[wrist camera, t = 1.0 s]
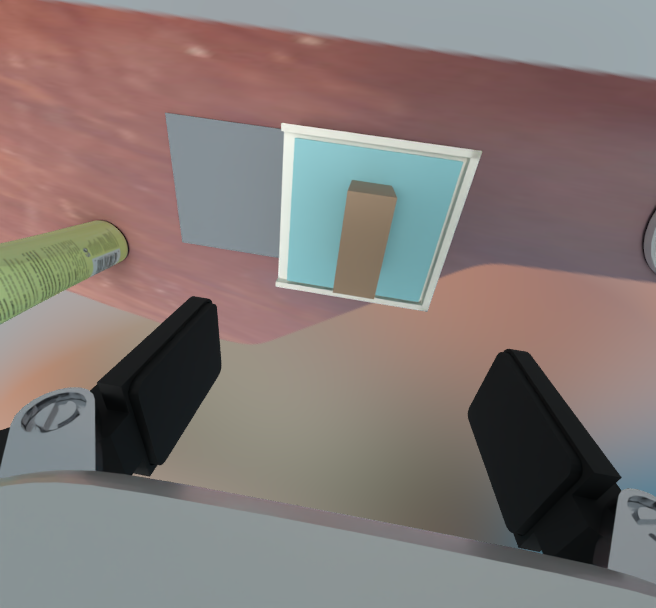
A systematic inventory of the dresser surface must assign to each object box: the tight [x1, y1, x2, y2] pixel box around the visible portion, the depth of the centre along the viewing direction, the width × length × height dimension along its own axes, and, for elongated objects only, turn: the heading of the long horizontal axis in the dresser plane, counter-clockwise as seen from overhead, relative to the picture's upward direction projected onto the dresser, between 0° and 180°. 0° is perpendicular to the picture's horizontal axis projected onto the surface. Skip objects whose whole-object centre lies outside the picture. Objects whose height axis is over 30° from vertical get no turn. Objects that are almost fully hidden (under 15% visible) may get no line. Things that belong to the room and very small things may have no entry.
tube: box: [0, 221, 128, 324], centre depth 25 cm, size 6×5×20 cm
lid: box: [287, 138, 463, 302], centre depth 22 cm, size 12×11×6 cm
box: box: [276, 123, 482, 312], centre depth 26 cm, size 14×13×6 cm
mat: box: [165, 113, 284, 258], centre depth 29 cm, size 11×12×1 cm
